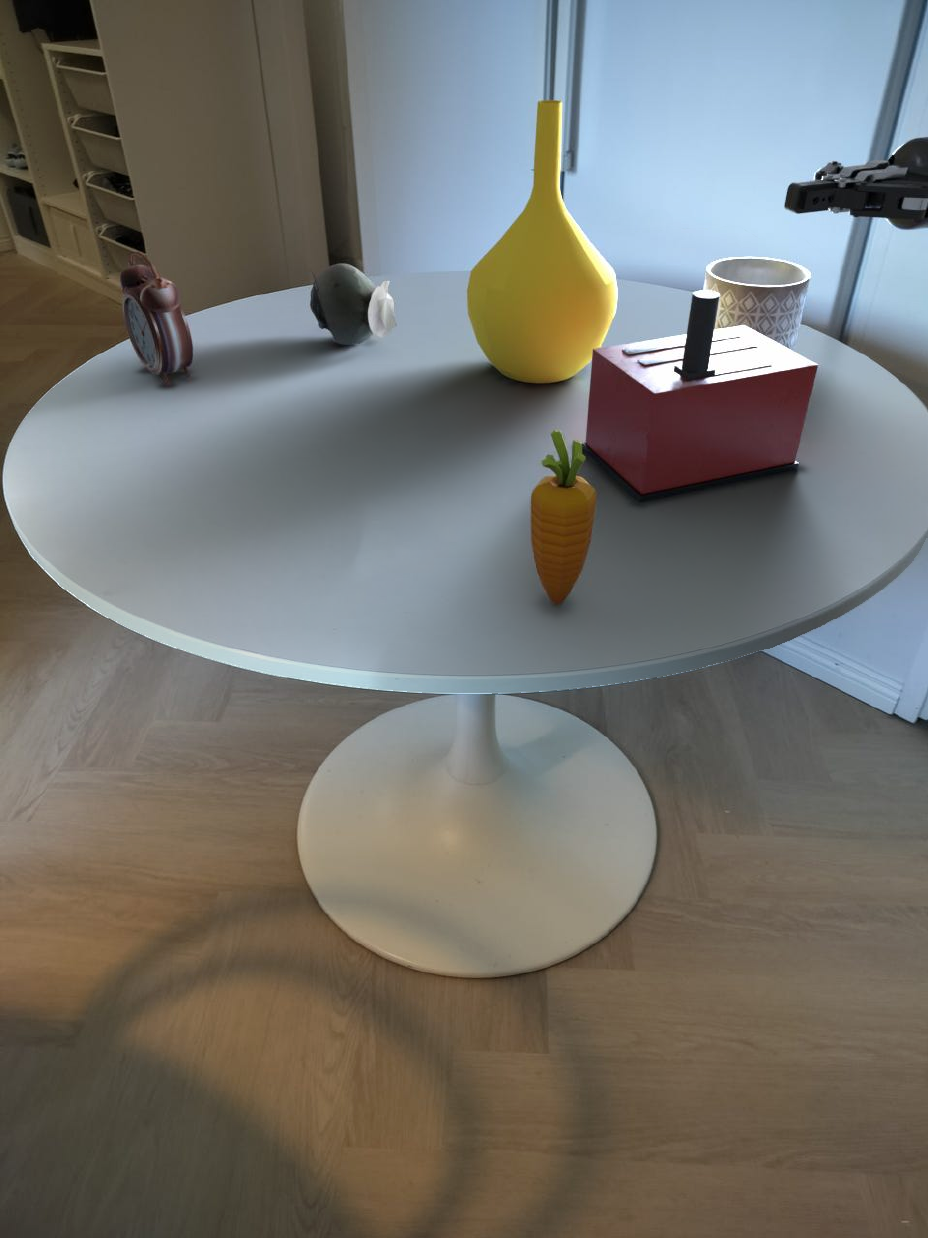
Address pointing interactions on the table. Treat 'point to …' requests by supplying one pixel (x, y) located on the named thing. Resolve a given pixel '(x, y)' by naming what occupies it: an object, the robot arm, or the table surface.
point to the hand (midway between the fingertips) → (791, 198)
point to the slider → (699, 336)
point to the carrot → (561, 521)
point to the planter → (760, 296)
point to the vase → (542, 280)
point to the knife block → (696, 413)
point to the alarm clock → (155, 319)
